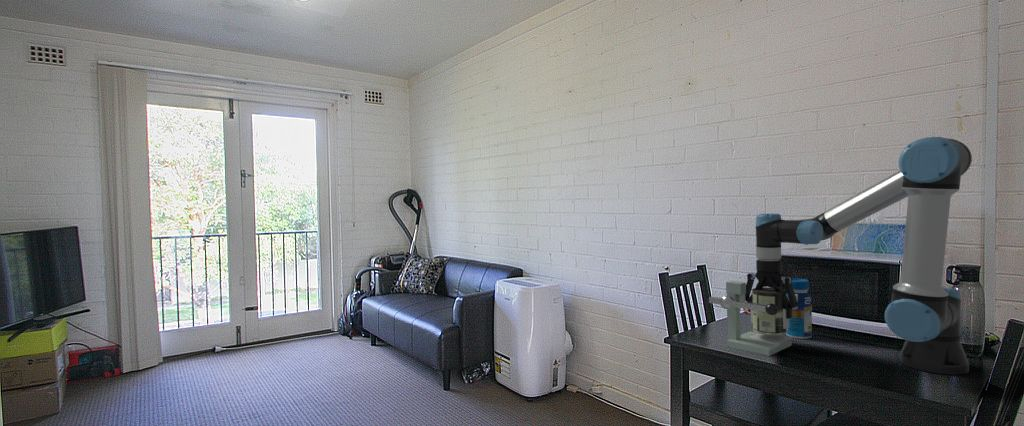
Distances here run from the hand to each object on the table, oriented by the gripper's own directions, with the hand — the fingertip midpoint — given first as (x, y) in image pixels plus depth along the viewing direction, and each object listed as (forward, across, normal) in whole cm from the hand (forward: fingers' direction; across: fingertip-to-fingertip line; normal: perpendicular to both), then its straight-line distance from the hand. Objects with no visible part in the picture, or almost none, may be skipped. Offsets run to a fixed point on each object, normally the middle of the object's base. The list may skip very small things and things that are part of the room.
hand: (769, 324), depth 167 cm
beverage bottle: (+7, -3, -16) cm, 18 cm away
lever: (-6, +3, +13) cm, 14 cm away
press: (+7, +1, +3) cm, 7 cm away
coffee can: (+2, 0, 0) cm, 2 cm away
